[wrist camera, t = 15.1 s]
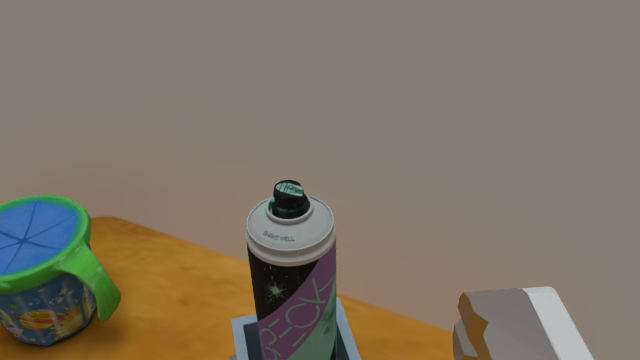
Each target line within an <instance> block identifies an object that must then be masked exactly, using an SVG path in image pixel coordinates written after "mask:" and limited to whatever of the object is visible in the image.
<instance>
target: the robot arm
mask: <svg viewBox="0 0 640 360" xmlns="http://www.w3.org/2000/svg"><path fill="white" fill-rule="evenodd" d="M458 309H459V312H460V315H461V319H460V320H459V321H458V322H457V323H456V324H455V325H454V332H453V353H454V358H455V360H594V359H593V357H592V355H591V353H590V351H589V350H588V348H587V346H586V344H585V342H584V341H583V339H582V337H581V335H580V334H579V332H578V330H577V328H576V326H575V325H574V323H573V321H572V319H571V317H570V316H569V314H568V312H567V310H566V309H565V307H564V305H563V303H562V301H561V299H560V298H559V296H558V294H557V292H556V291H555V290H554V289H553V288H551V287H535V288H522V289H518V288H514V289H501V290H488V291H475V292H463V293H462V295H461V296H460V299H459V304H458Z"/></svg>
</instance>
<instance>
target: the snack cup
mask: <svg viewBox="0 0 640 360" xmlns="http://www.w3.org/2000/svg"><path fill="white" fill-rule="evenodd" d="M90 222H91V218H90V215H89V214H88V212H87V211H86V210H85V209H83V207H82V206H81V205H80V204H78V203H77V202H75V201H73V200H72V199H69V198H66V197H63V196H57V195H37V196H28V197H23V198H19V199H15V200H11V201H8V202H5V203H3V204H0V321H1V322H2V323H3V325H4V326H5V328H6V329H7V330H8V331H9V332H10V333H11V334H13V335H14V336H15V337H16V338H17V339H18V340H20V341H21V342H25V343H30V344H38V345H45V346H50V345H51V344H52V343H53V342H55V341H59V340H61V339H64V338H66V337H68V336H70V335H72V334H74V333H75V332H77V331H78V330H80V329H81V328H83V327H85V326H86V325H87V324H88V323H89V321H90V318H91V316H92V314H93V312H94V310H95V308H96V304H97V313H98V318H99V322H104V321H106V320H107V319H108V318H109V317H110V316H111V314H112V313H113V312H114V311H115V310H116V308H117V307H118V304H119V302H120V298H121V297H120V292H119V290H118V289H117V288H116V286H115V285H114V283H113V282H112V280H111V279H110V278H109V276H108V274H107V273H106V271H105V269H104V268H103V266H102V264H101V263H100V262H99V261H98V259H97V258H96V257H95V255H94V254H93V253H92V251H91V248H90V244H89V241H90V237H91V225H90Z"/></svg>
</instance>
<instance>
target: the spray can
mask: <svg viewBox="0 0 640 360" xmlns="http://www.w3.org/2000/svg"><path fill="white" fill-rule="evenodd" d="M246 228H247V229H246V240H247V248H248V256H249V263H250V270H251V278H252V285H253V292H254V300H255V307H256V315H257V322H258V329H259V337H260V344H261V351H262V359H263V360H337V335H336V227H335V223H334V216H333V213H332V211H331V209H330V208H329V207H328V205H327V204H325V203H324V202H323V201H321V200H319V199H318V198H315V197H313V196H310V195H306V194H304V191H303V187H302V186H301V185H300V184H299V183H298V182H296V181H293V180H285V181H281V182H279V183H277V184H276V185H275V187H274V193H273V196H272V197H270V198H268V199H265V200H263V201H262V202H260V203H259V204H257V205H256V206H255V207H254V208H253V209H252V210H251V212H250V213H249V215H248V217H247V222H246Z"/></svg>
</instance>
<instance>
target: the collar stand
mask: <svg viewBox="0 0 640 360" xmlns="http://www.w3.org/2000/svg"><path fill="white" fill-rule="evenodd" d="M231 321H232V328H233V335H234V342H235V349H236V355H233V356H230V360H263V359H262V351H261V344H260V337H259V329H258V322H257V315H256V314H253V315H248V316H243V317H238V318H233V319H231ZM336 335H337V360H361V358H360V355H359V352H358V349H357V346H356V344H355V341H354V338H353V335H352V332H351V330H350V327H349V324H348V321H347V318H346V316H345V313H344V310H343V307H342V304H341V302H340V299H339V297H336Z"/></svg>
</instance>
